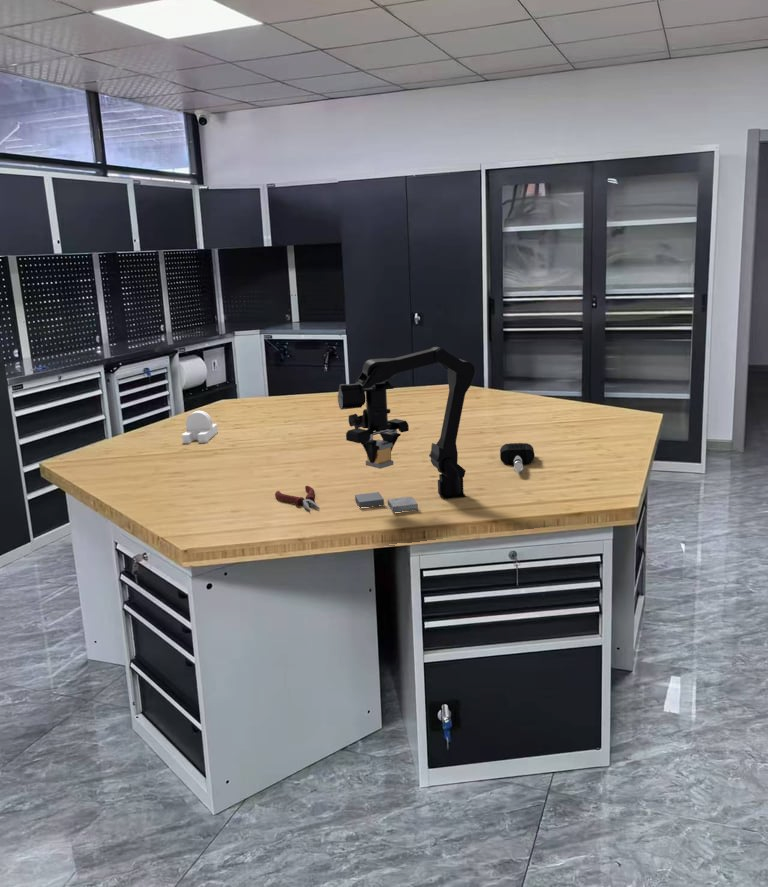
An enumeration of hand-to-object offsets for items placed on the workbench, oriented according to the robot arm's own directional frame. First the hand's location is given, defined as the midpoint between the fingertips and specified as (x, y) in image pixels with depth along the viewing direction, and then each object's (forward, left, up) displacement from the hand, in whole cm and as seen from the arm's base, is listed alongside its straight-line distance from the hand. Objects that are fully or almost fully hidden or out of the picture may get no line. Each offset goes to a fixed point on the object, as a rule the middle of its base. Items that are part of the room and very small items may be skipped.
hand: (379, 460), depth 230 cm
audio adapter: (-49, -22, -14) cm, 55 cm away
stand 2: (-5, +4, -13) cm, 15 cm away
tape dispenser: (+51, -110, -14) cm, 122 cm away
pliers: (+23, -13, -14) cm, 30 cm away
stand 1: (+3, -3, -13) cm, 14 cm away
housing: (0, 0, -1) cm, 1 cm away
